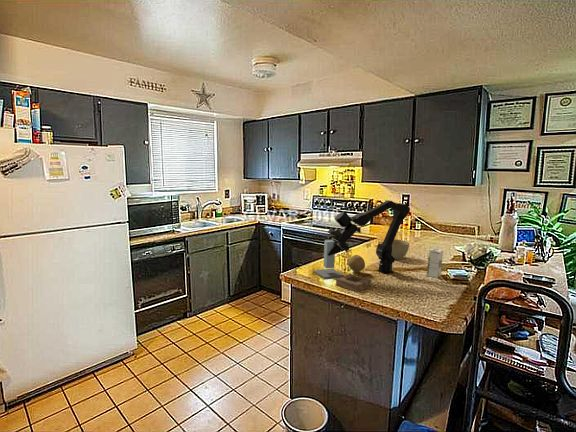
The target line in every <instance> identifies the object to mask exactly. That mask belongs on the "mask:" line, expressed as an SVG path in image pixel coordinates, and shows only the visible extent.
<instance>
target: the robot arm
mask: <svg viewBox="0 0 576 432" xmlns="http://www.w3.org/2000/svg"><path fill="white" fill-rule="evenodd" d="M389 209H390V210H393V212H392V217H393V218H392V220H391V222H390V224H389V227H388V230H387V232H386V235H385V237H384V239H383V240H384V241H382V242H381V243H380V242H378V243H377V246H376V248H375V253H376V256H377V257H378V260H379V264H378V268H377V271H378V272H380V273H382V274H392V273H393V274H394V272H395V271H393V264H394V263H395V261H396V259H395V258H394V257H393V256H392V255H391V254H392V244H393V241H394V239H396V236H397V234H398V231H399V229H400V226H401V225H402V222H403V221H404V220H405V219H406V218H407V217H408V215H409V213H410V212H411V208H410V206H409V205H408V203H407V204H406V203H401V202H399V203H397V202H395V201H393V200H389V199H386V200H385V201H384V202H381V203H380V204H378V205H376V206H374V207H373V208H371V209H369V210H367V211H363V212H359V213H357V214H355V215H354V216H350V215H348V213H347V212H346V211H345V210H343V211H342V212H340V213H338V214H336V216H335V217H334V220H335V221H336V223H337V224H338V225H339V226H340V227H341V228H343V229H338V228H335V229H334V228H332V227H329V229H328V231H327V234H328V235H327V238H328V240H333V241H335V242H334V247H333V248H332V249H331V250H330V252H329V253H328V255H329V256H330V255H333V254H335V255H336V254H339V253H340V252H348V251H349V250H350V246H349V245H348V244H347V242H348V241H351V240H352V237H353V236H354V235H355V233H359V234H361V232H362V230H361V229H362V228H361V227H364V226H366V225H367V224H368V223H370V222H371V220H372V219H373V218H376V217H377V216H379V215H380V214H383V213H384V212H386V211H388V210H389Z"/></svg>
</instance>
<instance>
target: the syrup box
mask: <svg viewBox="0 0 576 432" xmlns="http://www.w3.org/2000/svg"><path fill="white" fill-rule="evenodd" d="M443 256H444V250H443V249H439V248H431V249H429V251H428V259H427V267H426V268H427V269H426V276H427V277H429V278H435V279H438V278H440V277H441V273H442V268H443V267H442V266H443Z"/></svg>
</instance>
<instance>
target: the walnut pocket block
mask: <svg viewBox="0 0 576 432" xmlns="http://www.w3.org/2000/svg"><path fill="white" fill-rule="evenodd" d="M335 279H336V281H335V286H338V287H341V288H345V289H348V290H350V291H354V292H357V293H358V292H360V291H362V290H364V289H367V288H369V287H371V286H372V279H370V278H366V277H363V276H358V275H355V274H351V273H349V274H346V275H344V276H343V277H337V278H335Z"/></svg>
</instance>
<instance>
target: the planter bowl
mask: <svg viewBox="0 0 576 432" xmlns="http://www.w3.org/2000/svg"><path fill="white" fill-rule="evenodd" d="M383 241H384V239H383ZM383 241H382V242H383ZM410 245H411V243H410V242H409V241H407V240H402V239H396V238H395V239H394V241H393V244H392V254H391V255H392V256H393V257H394V258H395V261H396V260H397V261H399V260H403V259H404V257H405V256H406V254H407V253H408V251H409V248H410Z"/></svg>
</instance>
